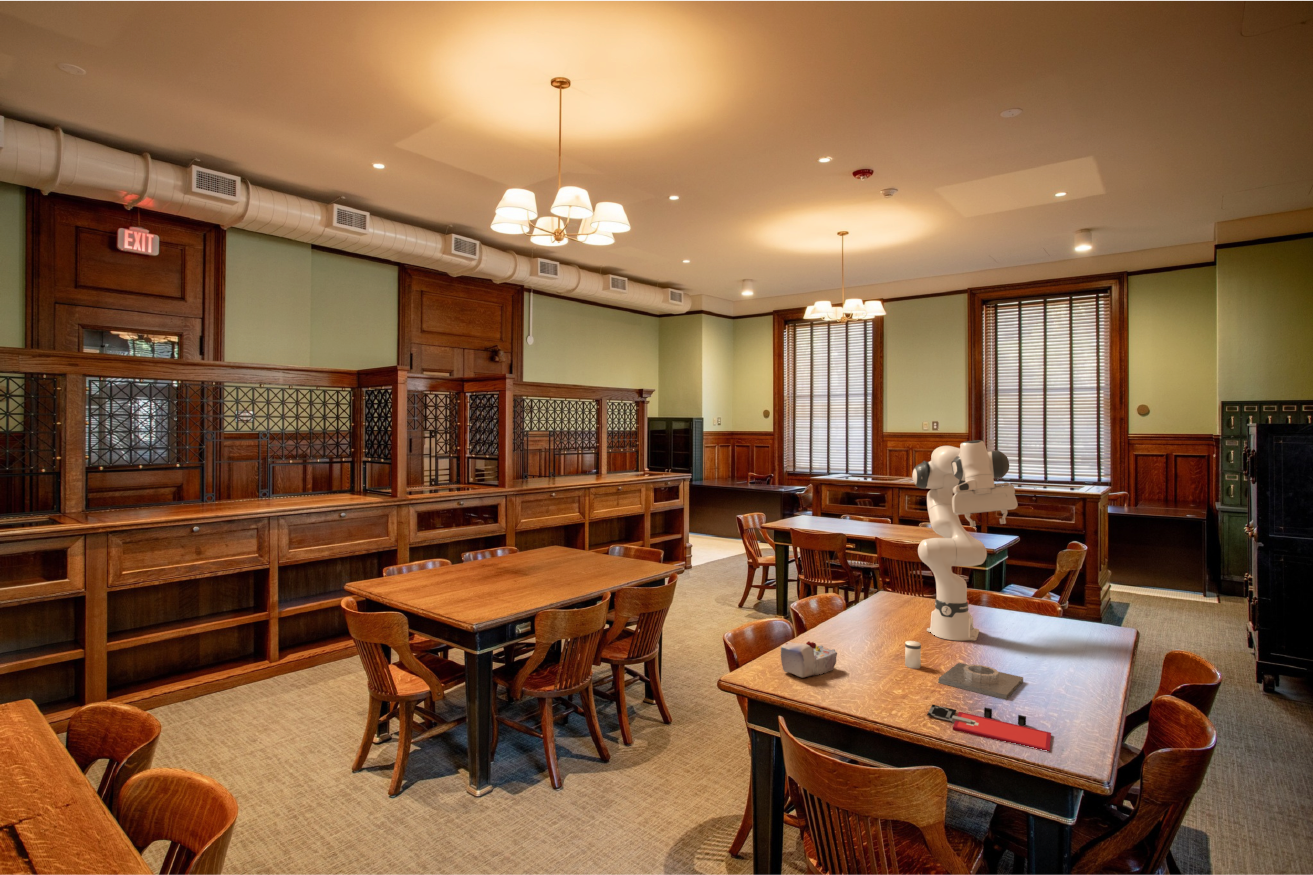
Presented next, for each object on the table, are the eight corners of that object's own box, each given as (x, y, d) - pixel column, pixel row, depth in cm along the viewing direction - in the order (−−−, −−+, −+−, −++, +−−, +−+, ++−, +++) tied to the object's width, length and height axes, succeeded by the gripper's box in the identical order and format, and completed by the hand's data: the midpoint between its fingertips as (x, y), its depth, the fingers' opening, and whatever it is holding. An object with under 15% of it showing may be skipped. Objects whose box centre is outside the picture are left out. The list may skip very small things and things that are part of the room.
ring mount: (958, 666, 227) (958, 655, 227) (1023, 681, 213) (1023, 669, 213) (938, 682, 212) (938, 670, 212) (1006, 699, 198) (1006, 686, 198)
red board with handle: (933, 705, 194) (923, 724, 182) (933, 695, 194) (923, 714, 182) (1051, 732, 178) (1049, 755, 166) (1051, 722, 178) (1049, 744, 165)
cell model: (776, 640, 219) (808, 630, 233) (775, 673, 219) (808, 660, 233) (810, 649, 210) (841, 638, 224) (809, 683, 210) (841, 669, 224)
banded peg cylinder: (908, 662, 231) (908, 639, 231) (922, 665, 227) (923, 642, 227) (902, 666, 227) (902, 643, 227) (917, 669, 224) (917, 646, 224)
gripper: (1010, 483, 228) (1019, 522, 225) (947, 489, 233) (955, 528, 230) (1015, 480, 222) (1023, 521, 219) (950, 487, 227) (958, 527, 224)
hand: (988, 525), depth 224 cm, fingers open, 8 cm apart
